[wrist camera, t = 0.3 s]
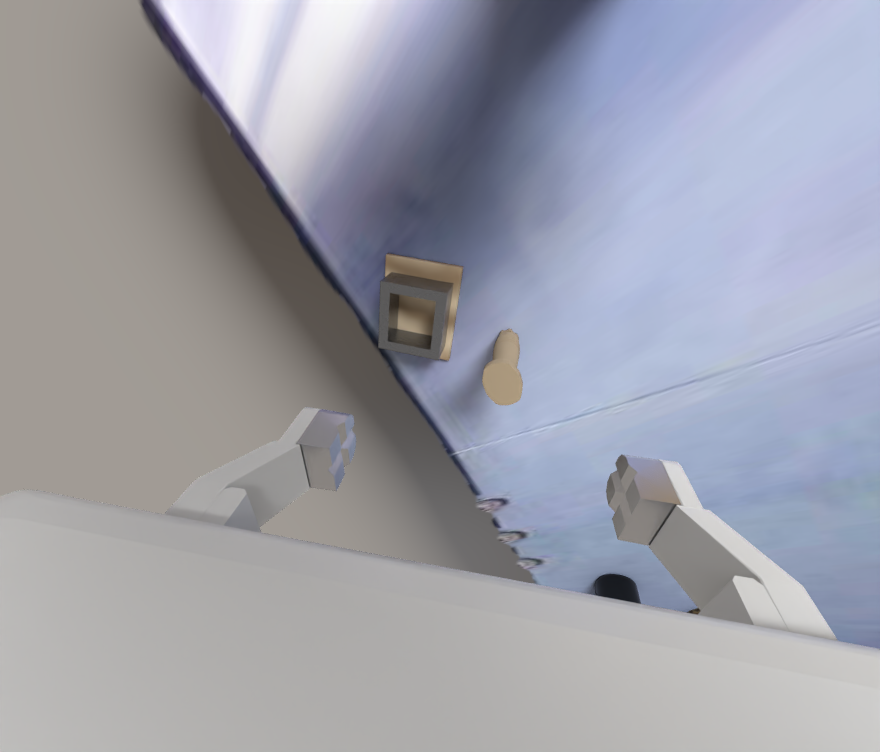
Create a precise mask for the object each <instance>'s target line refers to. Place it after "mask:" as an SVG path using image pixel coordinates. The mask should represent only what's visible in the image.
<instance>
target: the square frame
mask: <svg viewBox="0 0 880 752" xmlns="http://www.w3.org/2000/svg"><path fill="white" fill-rule="evenodd" d="M453 284H454V283H449V282H444V281H438V280H433V279H427V278H422V277H416V276H411V275H405V274H400V273H394V272H391V273H390V274H388V275H387V276H386V277H385V278H383V279H382V280H381V281H380V311H379V344H378V348H382V349H387V350H392V351H396V352H401V353H406V354H411V355H416V356H420V357H425V358H430V359H435V360H439V358H440V356H441V354H442V352H443V350H444V347H445V342H446V335H447V328H448V320H449V313H450V306H451V299H452V291H453ZM399 295H405V296H410V297H415V298H420V299H426V300H431V301H436V306H435V314H434V323H433V332H432V336H430V335H425V334H420V333H415V332H410V331H405V330H400V329H397V326H398V309H399Z"/></svg>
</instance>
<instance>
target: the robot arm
mask: <svg viewBox="0 0 880 752" xmlns="http://www.w3.org/2000/svg"><path fill="white" fill-rule="evenodd" d="M353 425H354V418H353V416H352V415H351V414H346V413H340V412H335V411H328V410H323V409H315V408H309V407H306V408H304V409H302V411H301V412H300V413H299V415H298V416H297V417H296V419H295V420H294V421H293V422H292V424H291V425H290V426H289V428H288V429H287V430H286V432H285V433H284V434H283V436H282V437H281V438H280V440H279V441H272V442H270V443H268V444H266V445H264V446H262V447H260V448H258V449H256V450H254V451H252V452H250V453H248V454H246V455H244V456H242V457H240V458H238V459H236V460H234V461H232V462H230V463H228V464H226V465H223V466H221V467H220V468H217V469H216V470H213V471H211V472H209V473H207V474H205V475H203V476H201V477H199V478H197V479H196V480H195V481H194V482H193V483H192V484H191V485H190V486H189V487H188V488H187V489H186V491H185V492H184V493H183V494H182V495H181V496H180V497H179V498H178V499H177V500H176V502H175V503H174V504H173V505H172V506H171V507H170V508H169V509H168V510H167V511H166V512H165V514H159V513H154V512H149V511H143V510H138V509H133V508H127V507H122V506H117V505H111V504H106V503H101V502H95V501H90V500H85V499H79V498H74V497H69V496H64V495H59V494H55V493H50V492H45V491H38V490H20V491H15V492H12V493H8V494H5V495H2V496H0V752H880V649H878V648H872V647H867V646H862V645H856V644H851V643H846V642H840V641H838V640H837V639H836V637H835V635H834V634H833V632H832V631H831V629H830V628H829V626H828V625H827V623H826V621H825V620H824V618H823V617H822V615H821V614H820V612H819V610H818V609H817V607H816V606H815V604H814V603H813V601H812V600H811V598H810V596H809V595H808V593H807V592H806V590H805V589H804V587H803V586H802V585H801V584H800V583H798V582H797V581H796V580H795V579H793V578H792V577H791V576H790V575H788V574H787V573H786V572H785V571H784V570H782V569H781V568H780V567H779V566H777V565H776V564H775V563H774V562H772V561H771V560H770V559H769V558H768V557H766V556H765V555H764V554H763V553H761V552H760V551H759V550H758V549H756V548H755V547H754V546H753V545H752V544H750V543H749V542H748V541H747V540H745V539H744V538H743V537H742V536H740V535H739V534H738V533H737V532H736V531H734V530H733V529H732V528H731V527H729V526H728V525H727V524H726V523H725V522H723V521H722V520H721V519H720V518H718V517H717V516H716V515H715V514H713V513H712V512H711V511H710V510H705V509H703V507H702V505H701V503H700V501H699V499H698V498H697V496H696V494H695V492H694V490H693V488H692V486H691V484H690V482H689V480H688V478H687V476H686V474H685V473H684V471H683V469H682V467H681V465H680V464H679V463H678V462H674V461H667V460H659V459H658V460H656V459H650V458H643V457H636V456H629V455H621V456H620V457H618V459H617V462H616V467H617V471H615V472H613V473H612V474H610V477H609V479H608V482H607V489H606V493H607V500H608V505H609V506H610V507H611V508H612V509H613V510H614V512H615V514H614V516H613V518H612V520H613V524H614V527H615V531H616V535H617V538H618V540H623V541H628V542H633V543H638V544H643V545H648V546H649V548H650V549H651V550H652V552H653V553H654V554H655V555H656V557H657V558H658V559H659V560H660V561H661V563H662V564H663V565H664V566H665V568H666V569H667V570H668V571H669V572H670V574H671V575H672V576H673V577H674V579H675V580H676V581H677V582H678V584H679V585H680V586H681V587H682V588H683V590H684V591H685V592H686V593H687V595H688V596H689V597H690V598H691V599H692V601H693V602H694V603H695V604H696V606H697V607H698V608H699V609H700V611H701V612H700V613H699V614H698V615H697V614H692V613H686V612H681V611H676V610H670V609H665V608H660V607H654V606H649V605H644V604H639V603H633V602H628V601H623V600H617V599H612V598H607V597H601V596H596V595H591V594H585V593H580V592H574V591H569V590H564V589H558V588H553V587H548V586H542V585H537V584H532V583H526V582H521V581H515V580H509V579H505V578H499V577H494V576H489V575H483V574H478V573H473V572H468V571H462V570H457V569H452V568H447V567H441V566H435V565H431V564H425V563H420V562H415V561H410V560H404V559H398V558H394V557H388V556H382V555H378V554H372V553H367V552H362V551H356V550H351V549H346V548H340V547H335V546H330V545H324V544H319V543H314V542H308V541H303V540H298V539H293V538H287V537H282V536H277V535H271V534H266V533H261V530H260V527H261V526H262V525H263V524H264V523H266V522H267V521H269V520H270V519H271V518H272V517H274V516H275V515H276V514H278V513H279V512H280V511H281V510H283V509H284V508H285V507H287V506H288V505H289V504H291V503H292V502H293V501H295V500H296V499H297V498H298V497H300V496H301V495H302V494H304V493H305V492H306V491H307V490H309V487H311V488H318V489H325V490H332V491H337V489H338V487H339V485H340V483H341V481H342V479H343V476H344V467H345V466H347V465H348V464H350V462H351V460H352V458H353V455H354V451H355V447H356V436H355V434H354V433H353V431H352V430H351V429H352V428H353Z"/></svg>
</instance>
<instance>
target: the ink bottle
mask: <svg viewBox="0 0 880 752" xmlns="http://www.w3.org/2000/svg"><path fill="white" fill-rule="evenodd" d="M595 592H596V596H601V597H607V598H612V599H617V600H623V601H628V602H633V603H639V604H641V602H640V598H639V594H638V590H637V586H636V584H635V582H634V581H633V580H631V579H630V578H628V577H625V576H622V575H616V574H608V575H604V576H602V577H600V578H599V579H598V580H597V581H596V583H595Z"/></svg>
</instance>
